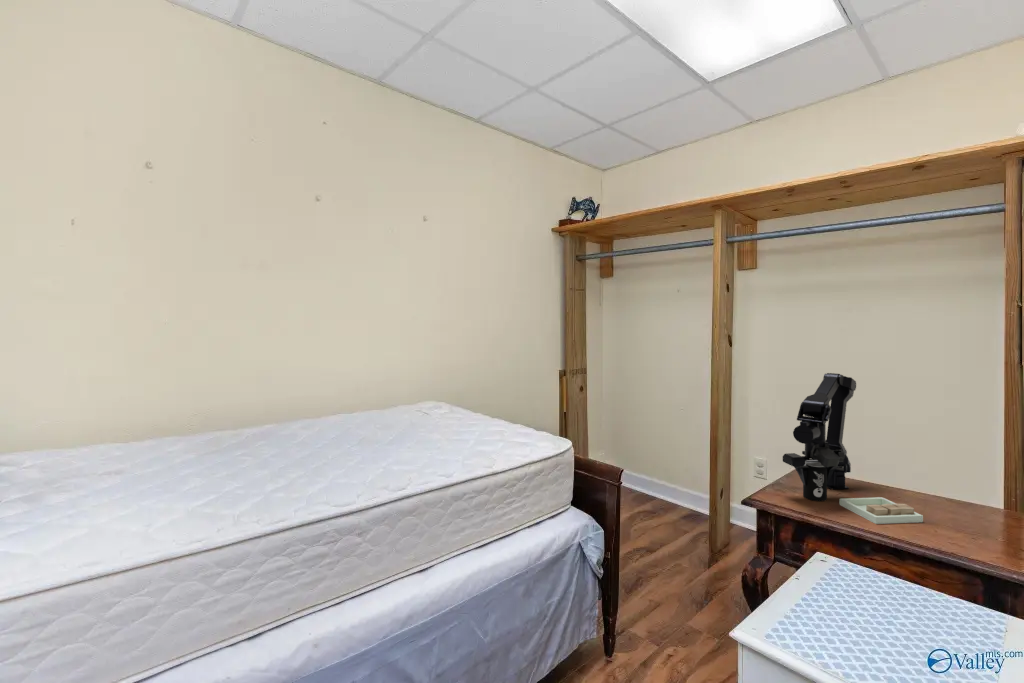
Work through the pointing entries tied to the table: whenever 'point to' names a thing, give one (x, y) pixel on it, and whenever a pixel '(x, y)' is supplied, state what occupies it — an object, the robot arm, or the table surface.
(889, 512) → the maple cube
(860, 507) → the tray
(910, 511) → the maple cube
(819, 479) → the beverage can
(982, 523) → the table surface
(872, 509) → the maple cube
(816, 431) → the robot arm
